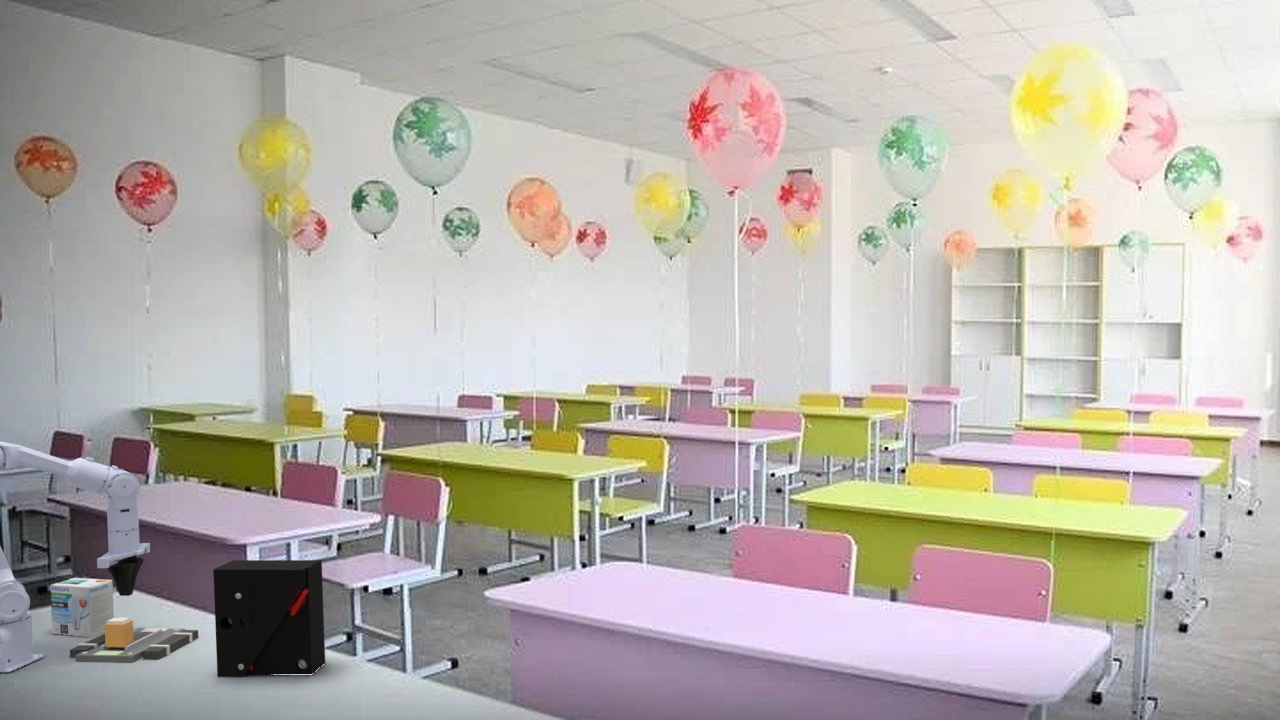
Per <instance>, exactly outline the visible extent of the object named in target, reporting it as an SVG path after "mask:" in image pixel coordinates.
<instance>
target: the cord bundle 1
mask: <svg viewBox="0 0 1280 720" xmlns="http://www.w3.org/2000/svg"><path fill="white" fill-rule="evenodd" d="M103 643H105V632H103V633H101V634H99V635H97V636H96V637H94V638H92V639H90V640H88V641H86V642H83V643H77V645H76V646H75V647H73V648H70V649H69V658H70V657H72V658H71V659H75V655H77V654H79V653H81V652H86V651H88V650H90V649H93V648H96V647H98V646H99V645H101V644H103Z"/></svg>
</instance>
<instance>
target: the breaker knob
mask: <svg viewBox="0 0 1280 720" xmlns="http://www.w3.org/2000/svg"><path fill="white" fill-rule="evenodd" d="M133 621H134V620H131V618H130V617H114V618H113V619H110V620H108V621H107V624H105V646H106V647H125V646H127V645H129V644H131V643H133V642H134V639H133V628H134V622H133Z"/></svg>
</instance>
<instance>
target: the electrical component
mask: <svg viewBox="0 0 1280 720" xmlns="http://www.w3.org/2000/svg"><path fill="white" fill-rule="evenodd" d="M212 572H213V573H212V574H213V589H214V590H213V591H214V592H213V594H214V595H213V596H214V617H215V618H214V619H215V623H214V625H215V645H216V646H215V649H216V672H217V674H216V675H217V678H235V677H236V678H238V677H240V678H241V677H245V676H274V675H273V674H312V673H314V672H315V671H316V670H317V669H318V668H319V667H321V666H322V665H323V664H324V663H325V664H326V649H325V647H326V646H325V645H326V644H325V621H324V617H325V616H324V597H323V596H324V593H323V589H324V587H323V561H322V560H321V559H320V560H319V559H317V560H316V559H315V560H314V559H312V560H311V559H308V560H307V559H305V560H303V559H302V560H300V559H299V560H298V559H296V560H295V559H294V560H292V559H290V560H289V559H287V560H285V559H284V560H283V559H279V560H277V559H273V560H272V559H271V560H270V559H267V560H266V559H262V560H261V559H259V560H258V559H256V560H254V559H253V560H252V559H247V560H243V559H241V560H239V559H236V560H235V559H234V560H230V561H229V562H227V563H225V564H222V565H220V566H218V567H216V568H213V571H212ZM271 674H272V675H271Z"/></svg>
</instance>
